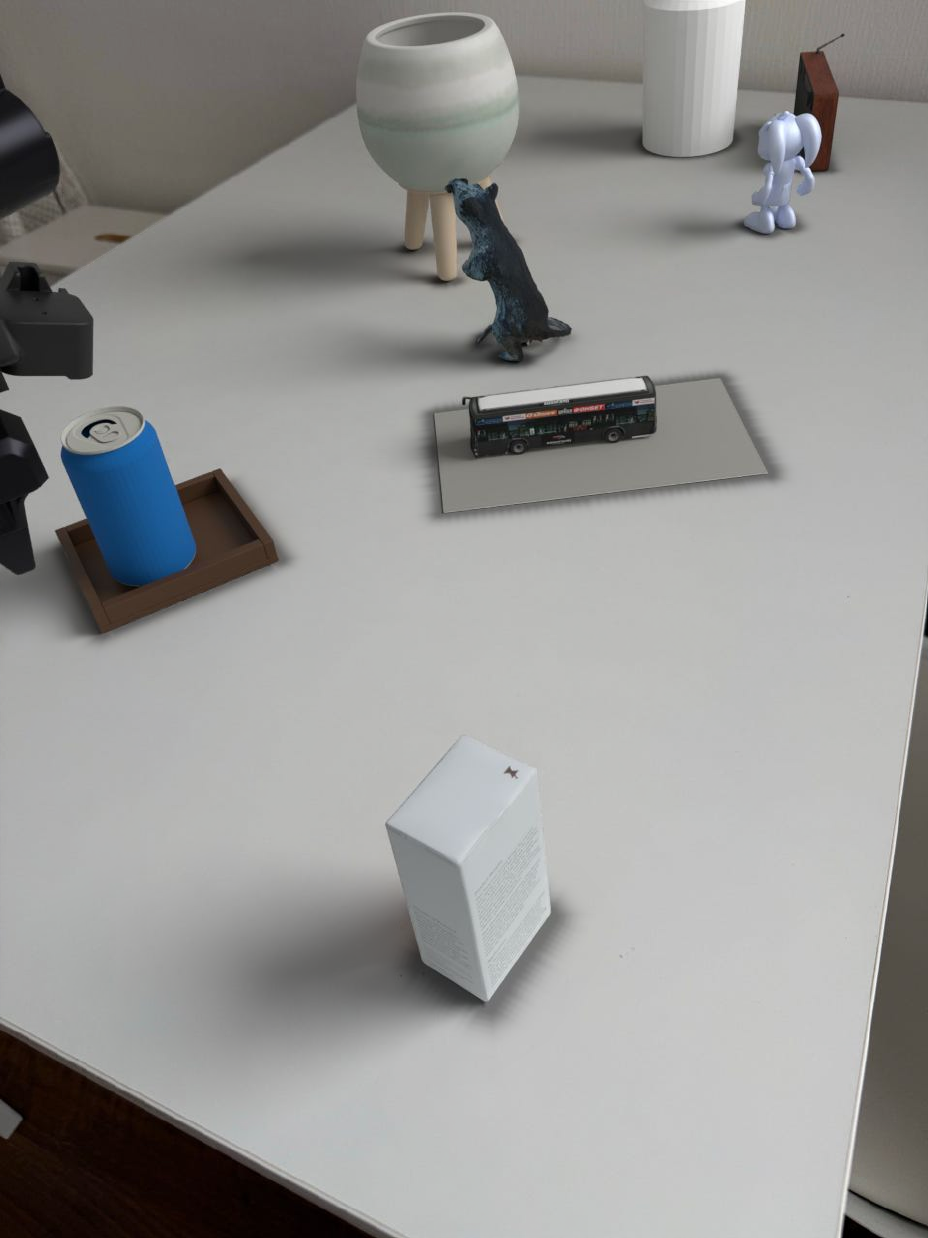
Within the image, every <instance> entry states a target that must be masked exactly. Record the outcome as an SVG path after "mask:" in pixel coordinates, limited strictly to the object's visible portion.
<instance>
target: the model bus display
mask: <svg viewBox="0 0 928 1238" xmlns="http://www.w3.org/2000/svg"><path fill="white" fill-rule="evenodd" d="M467 400H469V402H468V408H466V409H465V408H464V409H459V410H451V411H450V410H449V411H443V412H434V413H433V414H434V415H433V416H434V426H435V438H436V448H437V459H438V469H439V470H438V471H439V481H440V490H441V501H442V512H443V514H447V513H455V512H462V511H470V510H479V509H486V508H487V509H488V508H495V507H503V506H512V505H518V504H519V505H521V504H528V503H536V502H544V501H551V500H553V501H554V500H560V499H561V500H562V499H567V498H569V499H570V498H577V497H578V498H579V497H584V496H592V495H600V494H602V495H603V494H609V493H610V494H611V493H619V492H625V491H633V490H634V491H635V490H641V489H642V490H643V489H650V488H651V489H652V488H659V487H666V486H667V487H668V486H675V485H683V484H691V483H699V482H709V481H715V480H723V479H725V480H726V479H732V478H733V479H734V478H740V477H741V478H742V477H749V476H757V475H764V474H768V473H769V471H768V470H767V467H766V466H765V464H764V462H763V460H762V458H761V456H760V454H759V452H758V450H757V448H756V446H755V445H754V442H753V440H752V439H751V437H750V435H749V433H748V431H747V429H746V427H745V424H744V422H743V421H742V419H741V417H740V415H739V413H738V411H737V408H736V407H735V405H734V403H733V401H732V399H731V397H730V395H729V392H728V391H727V388H726V386H725V385H724V383H723V381H722V379H721V377H718V378H717V377H716V378H710V379H700V380H693V381H685V382H677V383H676V382H675V383H669V384H661V385H655V384H654V382H653V381H652V379H651V378H650V376H649V375H640V376H628V377H620V378H612V379H604V380H596V381H590V382H589V381H588V382H580V383H571V384H563V385H557V386H556V385H555V386H547V387H540V388H533V389H524V390H517V391H509V392H500V393H492V394H486V395H479V396H463V397H462V398H461V405H462V406H466V401H467Z"/></svg>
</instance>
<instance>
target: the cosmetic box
mask: <svg viewBox="0 0 928 1238" xmlns="http://www.w3.org/2000/svg"><path fill="white" fill-rule="evenodd" d="M542 815H543V813H542V803H541V790H540V781H539V771H538V769H537V768H536V767H534V766H532V765H530V764H527V763H525V762H523V761H521V760H518V759H516V758H514V757H512V756H510V755H508V754H506V753H504V752H502V751H499V750H498V749H496V748H493V747H490V746H489V745H487V744H485V743H483V742H481V741H479V740H476V739H474V738H472V737H470V736H468V735H466V734H462V735H460V736H459V738H458V739H457V740H456V741H455V742H454V744H453V745H451V746H450V748H449V749H448V750H447V751H446V752H445V754H444V755H442V757H441V758H440V759H439V760H438V762H437V763H436V764H435V765H434V766H433V767H432V769H431V770H430V771H429V772H428V773H427V775H426V776H425V777H424V778H423V779H422V780H421V782H420V783H419V784H418V786H416V787H415V789H414V790H413V791H412V792H411V793H410V795H409V796H407V798H406V799H405V800H404V801H403V803H402V804H401V805H400V806H399V807H398V808H397V809H396V810H395V812H394V813H393V814H392V815H391V816H390V817H389V818H388V819H387V820H386V821H385V824H384V825H385V829H386V832H387V836H388V837H387V838H388V841H389V844H390V847H391V848H390V849H391V851H392V855H393V858H394V862H395V866H396V869H397V874H398V876H399V880H400V885H401V888H402V892H403V896H404V899H405V903H406V906H407V911H408V914H409V919H410V921H411V925H412V928H413V932H414V937H415V940H416V944H417V948H418V951H419V955H420V959H421V961H422V962H423V964H424V965H426V966H427V967H429V968H431V969H432V970H434V971H436V972H437V973H439V974H441V975H442V976H444V977H445V978H446V979H448V980H451V981H452V982H454V983H455V984H457V985H458V986H460V987H461V988H463V989H464V990H466V992H469V993H470V994H471V995H474V996H475V997H476V998H478V999H480V1000H481V1001H483V1002H485V1003H488V1002H489V1001H490V999H491V998H492V997H493V995H494V994H495V992H496V991H497V989H499V986H500V985H501V984H502V983H503V981H504V980H505V979H506V977H507V975H508V974H509V973H510V971H511V970H512V969H513V967H514V966H515V965H516V963H517V961H518V960H519V958H520V957H521V956H522V954H523V953H524V952H525V950H526V949H527V947H528V946H529V944H530V943H531V942H532V941H533V939H534V937H535V936H536V935H537V933H538V932H539V930H540V929H541V928H542V926H543V925H544V924H545V922H546V921H547V919H548V918H549V917H550V916H551V913H552V908H551V897H550V896H551V895H550V887H549V886H550V885H549V876H548V875H549V874H548V865H547V857H546V856H547V855H546V846H545V834H544V824H543V816H542Z"/></svg>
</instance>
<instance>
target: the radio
mask: <svg viewBox="0 0 928 1238" xmlns="http://www.w3.org/2000/svg"><path fill="white" fill-rule="evenodd" d="M843 37H845V33H841V34H840V35H839V36H837V37H836V38H834V39H831V40H829V41H828V42H826V43H824V44H821V45H820V46H818V47H816V51H802V52H799V58H798V59H799V60H798V68H797V69H798V70H797V77H796V78H797V79H796V86H795V95H794V96H795V98H794V105H793V115H795V116H796V117H797V116H799V115H801V114H811V115H813V116H814V117H815V118H816V120H817V121H818V124H819V126H820V130H821V143H820V148H819V151H818V154H817V156H816V158H815V160H814V162H813V163H812V164H811V165H810V166H809V167H808V168H809V169H810V170H811V172H816V171H819V172H820V171H829V170H830V163H831V155H832V149H833V148H832V147H833V141H834V133H835V127H836V119H837V112H838V104H839V97H840V92H839V89H838V86H837V84H836V80H835V79H834V76H833V73H832V70H831V68H830V65H829V63H828V60H827V57H826V54H825V52H824V50H822V49H823V48H825V47H827V46H828V45H830V44H833V43H834V42H835V41H837V40H838V39H840V38H843ZM799 156H801V157H802V158H803V159H804V161H805V150H804V146H803V148H802V149H801V151H800V152H799Z"/></svg>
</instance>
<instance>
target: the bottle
mask: <svg viewBox="0 0 928 1238" xmlns="http://www.w3.org/2000/svg"><path fill="white" fill-rule="evenodd" d="M746 1H747V0H642V146H643V148H644V149H645V150H647V151H649V152H650V153H653V154H656V155H660V156H664V157H672V158H673V157H674V158H688V157H689V158H691V157H700V156H706V155H710V154H711V155H712V154H714V153H717V152H720V151H722V150H724V149H726V148H728V147H729V146H730V145H731V144H732V143H733V141H734V131H735V119H736V109H737V98H738V89H739V76H740V67H741V66H740V65H741V57H742V45H743V34H744V23H745V12H746Z"/></svg>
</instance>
